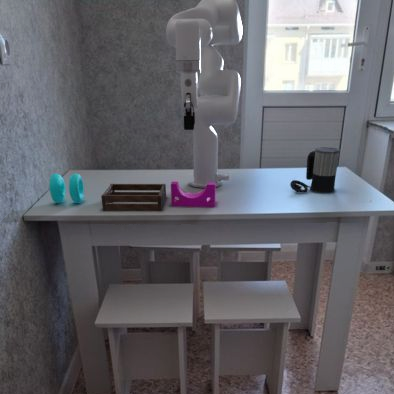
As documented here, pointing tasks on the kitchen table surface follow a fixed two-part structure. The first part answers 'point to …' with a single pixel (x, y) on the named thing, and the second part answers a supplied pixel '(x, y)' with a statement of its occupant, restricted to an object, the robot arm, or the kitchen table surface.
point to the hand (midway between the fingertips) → (189, 127)
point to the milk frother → (320, 171)
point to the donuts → (59, 188)
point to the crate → (134, 197)
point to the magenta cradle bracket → (193, 196)
